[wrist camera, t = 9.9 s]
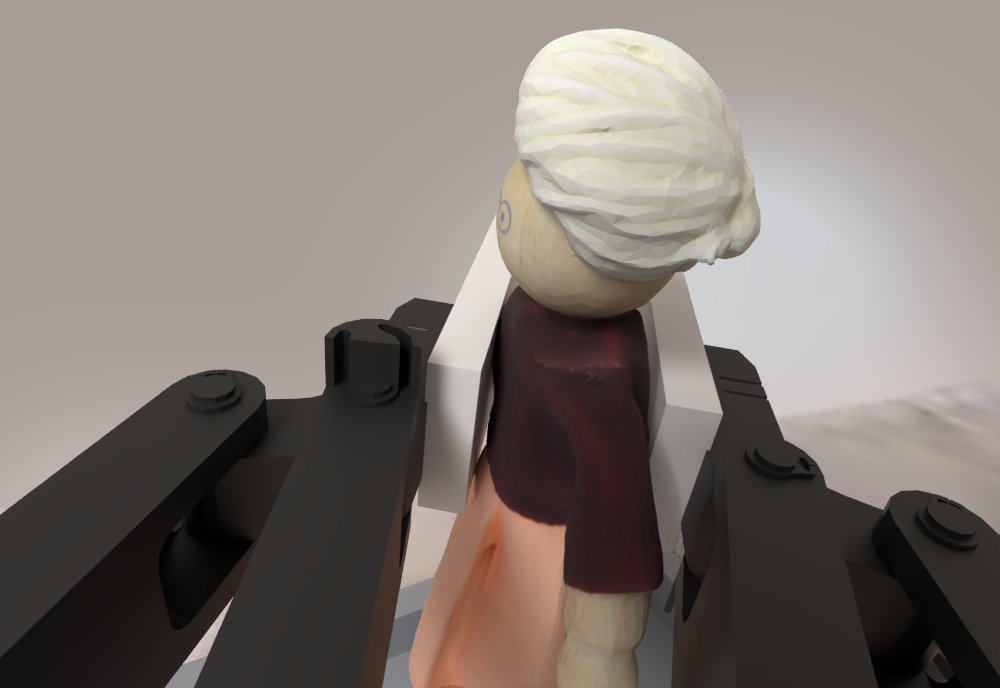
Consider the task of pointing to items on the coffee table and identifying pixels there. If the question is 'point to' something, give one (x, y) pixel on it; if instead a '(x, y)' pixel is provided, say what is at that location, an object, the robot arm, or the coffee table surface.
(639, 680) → the tray
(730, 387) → the robot arm
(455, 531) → the grandmother figurine
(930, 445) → the coffee table surface
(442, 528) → the coffee table surface
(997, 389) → the coffee table surface
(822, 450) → the coffee table surface
